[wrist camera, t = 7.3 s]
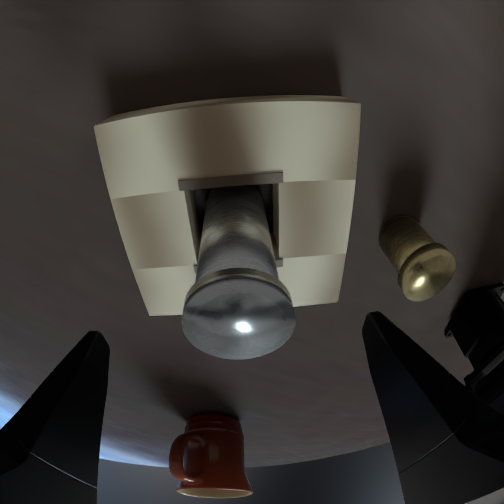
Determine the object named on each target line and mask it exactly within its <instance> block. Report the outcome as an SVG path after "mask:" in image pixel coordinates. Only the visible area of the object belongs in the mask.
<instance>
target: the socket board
mask: <svg viewBox="0 0 504 504" xmlns="http://www.w3.org/2000/svg"><path fill="white" fill-rule="evenodd" d="M360 111H361V103H358V102H356V101H353V100H350V99H348V98H345V97H342V96H321V95H271V96H248V97H233V98H221V99H210V100H201V101H193V102H185V103H178V104H171V105H164V106H158V107H152V108H147V109H141V110H136V111H131V112H126V113H122V114H117V115H113V116H111V117H109V118H107V119H105V120H104V121H102V122H100V123H98V124H96V125H94V130H95V135H96V140H97V145H98V149H99V154H100V158H101V163H102V167H103V171H104V175H105V179H106V183H107V187H108V191H109V195H110V199H111V202H112V206H113V209H114V213H115V216H116V220H117V223H118V227H119V230H120V233H121V236H122V240H123V243H124V246H125V249H126V252H127V255H128V258H129V261H130V264H131V267H132V270H133V273H134V276H135V278H136V281H137V284H138V287H139V289H140V292H141V295H142V297H143V300H144V303H145V305H146V308H147V310H148V313H149V315H150V316H157V315H182V314H183V307H184V301H185V297H186V295H187V293H188V291H189V289H190V288H191V287H192V286H193V284H195V281H196V273H197V265H198V258H199V251H200V243H201V235H200V229H199V223H198V217H197V211H196V204H195V198H194V191H193V190H195V189H206V188H217V187H229V186H242V185H256V184H272V186H273V233H270V237H271V242H272V247H273V252H274V257H275V262H276V267H277V272H278V277H279V281H281V282H282V283H283V284H284V285H285V286H286V288H287V289H288V291H289V293H290V295H291V299H292V303H293V307H295V306H305V305H315V304H324V303H333V302H338V297H339V292H340V287H341V281H342V275H343V269H344V263H345V257H346V251H347V244H348V237H349V230H350V223H351V215H352V207H353V199H354V190H355V180H356V170H357V158H358V145H359V130H360Z"/></svg>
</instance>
